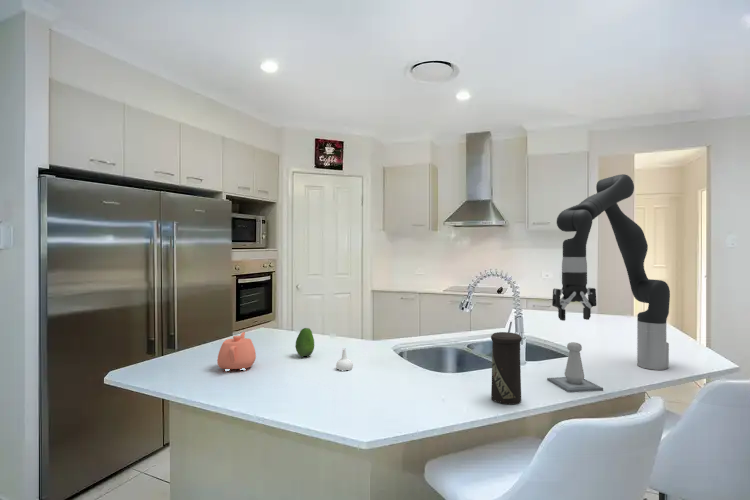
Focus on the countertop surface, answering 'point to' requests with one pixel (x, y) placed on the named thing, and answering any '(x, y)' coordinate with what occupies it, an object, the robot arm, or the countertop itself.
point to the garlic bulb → (344, 362)
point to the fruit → (305, 342)
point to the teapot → (236, 353)
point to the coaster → (574, 385)
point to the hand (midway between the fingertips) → (574, 319)
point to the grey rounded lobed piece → (574, 364)
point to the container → (506, 368)
